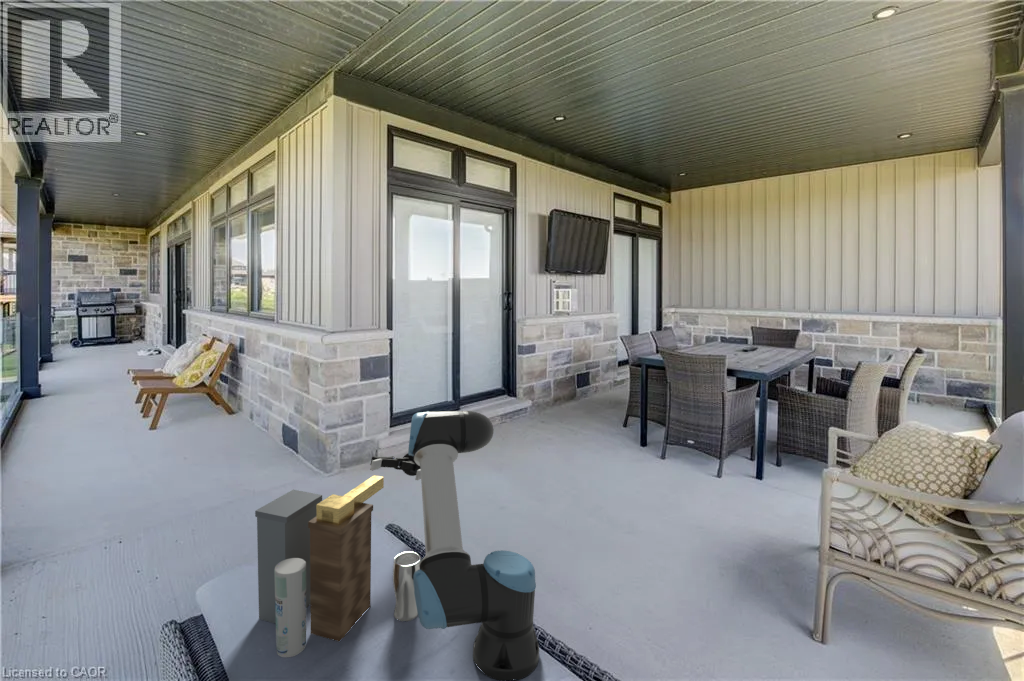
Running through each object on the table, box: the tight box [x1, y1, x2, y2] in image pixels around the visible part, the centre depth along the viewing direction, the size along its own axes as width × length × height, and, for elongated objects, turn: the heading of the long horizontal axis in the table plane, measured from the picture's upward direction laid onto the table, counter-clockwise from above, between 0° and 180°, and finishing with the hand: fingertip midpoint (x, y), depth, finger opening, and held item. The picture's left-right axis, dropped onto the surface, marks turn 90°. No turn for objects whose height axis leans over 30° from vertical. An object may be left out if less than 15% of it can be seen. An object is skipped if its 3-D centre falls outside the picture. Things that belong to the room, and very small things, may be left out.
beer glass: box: [392, 551, 421, 622], centre depth 126 cm, size 7×7×15 cm
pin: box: [316, 475, 385, 526], centre depth 125 cm, size 22×6×4 cm, turn 164°
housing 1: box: [254, 489, 323, 625], centre depth 126 cm, size 13×9×28 cm
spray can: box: [274, 558, 307, 658], centre depth 113 cm, size 6×6×20 cm
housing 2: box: [308, 502, 374, 642], centre depth 122 cm, size 13×9×28 cm
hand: (394, 470), depth 143 cm, fingers open, 13 cm apart
